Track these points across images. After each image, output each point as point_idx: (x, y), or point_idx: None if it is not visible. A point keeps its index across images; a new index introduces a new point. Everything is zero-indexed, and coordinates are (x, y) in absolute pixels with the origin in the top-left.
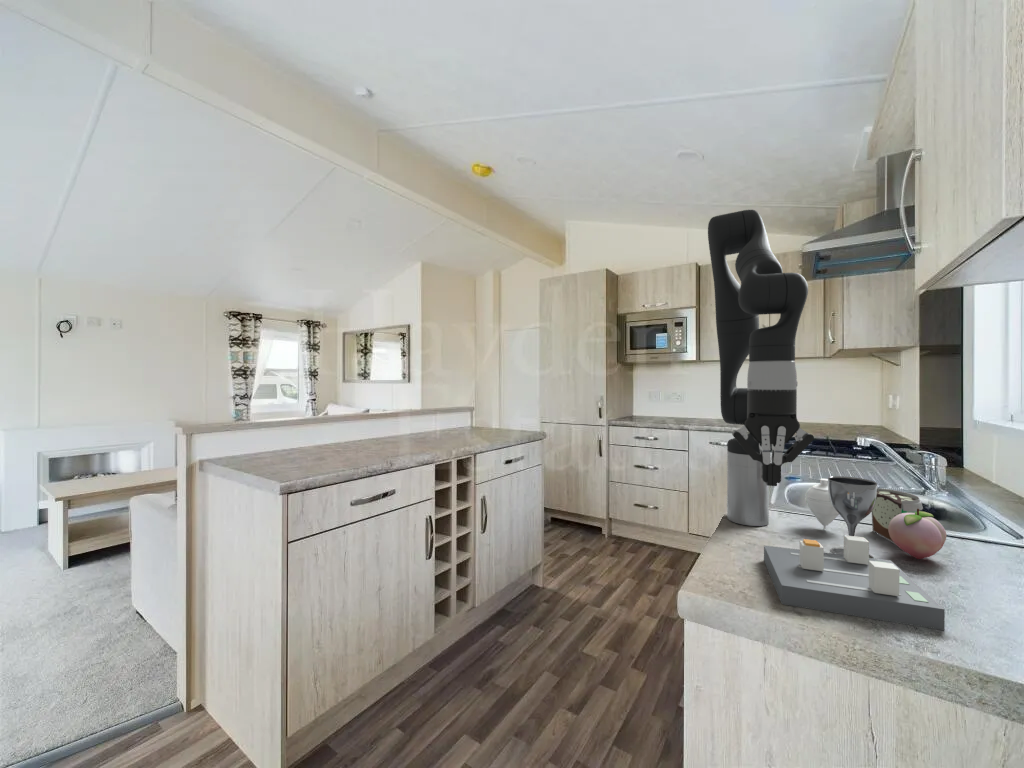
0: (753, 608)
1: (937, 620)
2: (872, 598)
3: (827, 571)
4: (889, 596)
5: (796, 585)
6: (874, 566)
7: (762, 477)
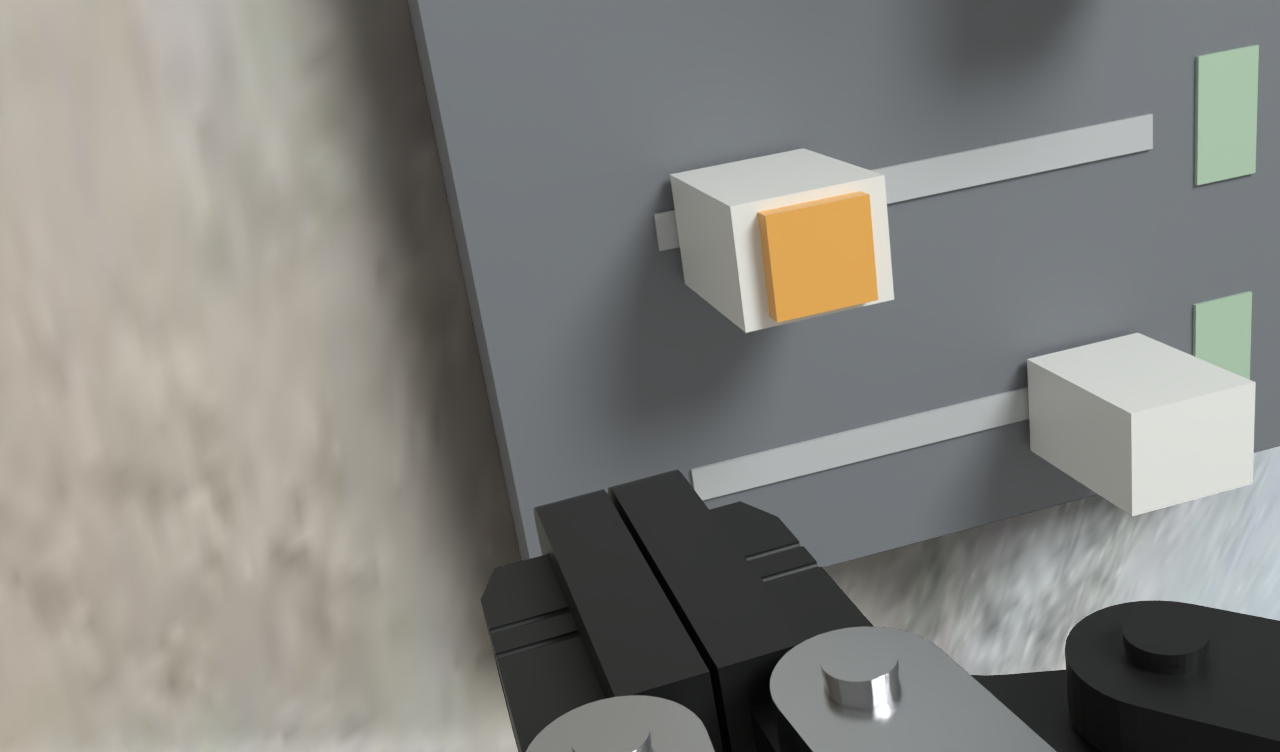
0: (382, 727)
1: None
2: (1000, 515)
3: None
4: None
5: None
6: (1131, 512)
7: (509, 715)
